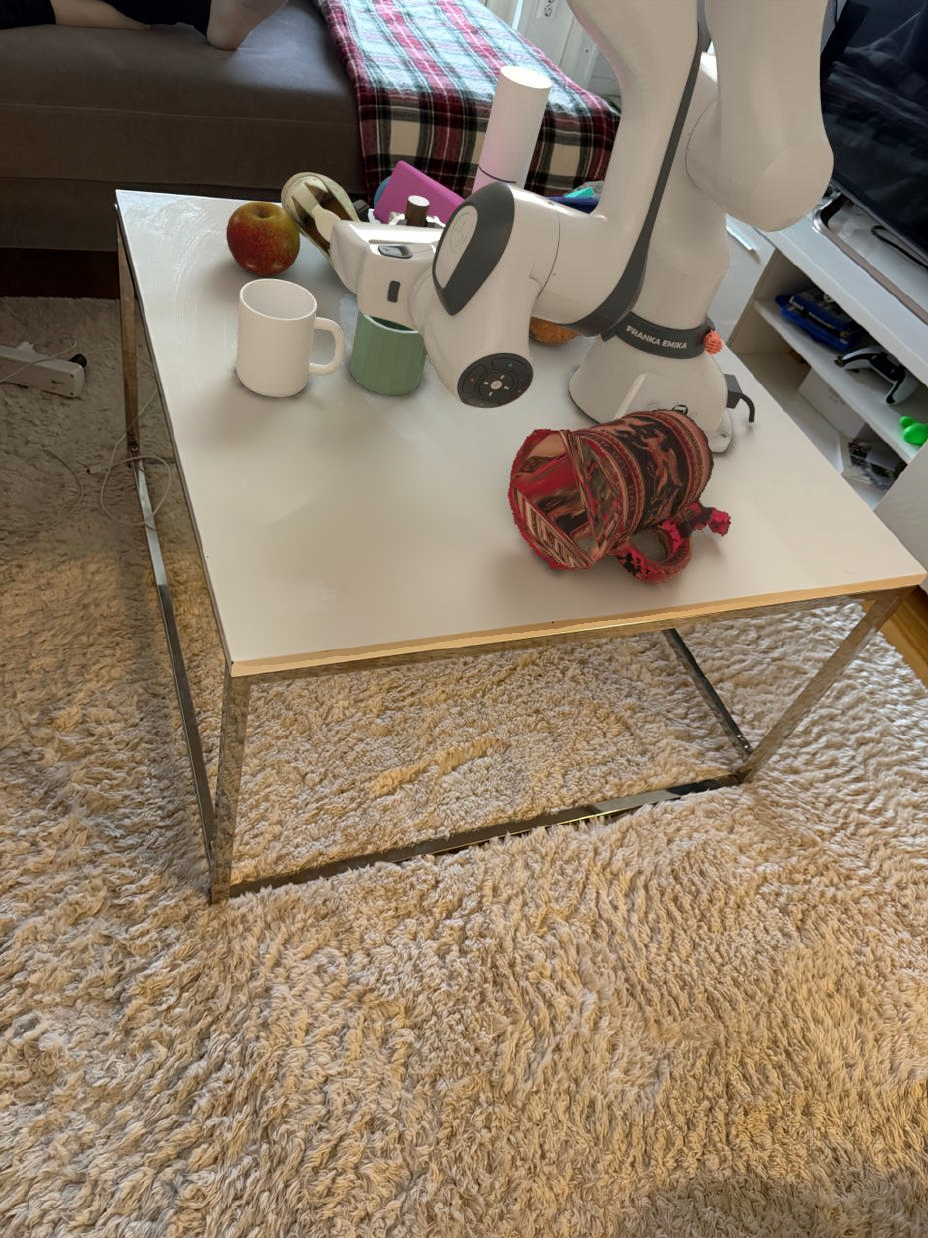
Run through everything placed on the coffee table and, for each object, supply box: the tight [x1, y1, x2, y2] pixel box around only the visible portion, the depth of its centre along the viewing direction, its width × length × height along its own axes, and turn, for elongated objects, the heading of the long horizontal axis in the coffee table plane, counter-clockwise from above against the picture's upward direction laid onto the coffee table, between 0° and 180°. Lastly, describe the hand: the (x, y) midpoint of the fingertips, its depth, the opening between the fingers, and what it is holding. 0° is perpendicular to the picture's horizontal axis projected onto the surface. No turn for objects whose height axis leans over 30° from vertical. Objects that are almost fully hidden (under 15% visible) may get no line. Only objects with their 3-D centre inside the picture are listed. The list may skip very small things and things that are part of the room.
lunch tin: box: [349, 310, 428, 396], centre depth 107 cm, size 9×9×8 cm
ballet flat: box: [280, 171, 361, 275], centre depth 116 cm, size 8×25×8 cm
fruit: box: [225, 201, 301, 277], centre depth 116 cm, size 10×9×8 cm
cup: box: [235, 278, 346, 398], centre depth 101 cm, size 8×12×10 cm
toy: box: [372, 160, 465, 225], centre depth 125 cm, size 28×9×15 cm
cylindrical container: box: [471, 65, 553, 194], centre depth 128 cm, size 7×7×25 cm
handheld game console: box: [565, 187, 594, 198], centre depth 138 cm, size 10×16×1 cm
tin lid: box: [405, 196, 430, 227], centre depth 97 cm, size 10×10×8 cm
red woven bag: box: [507, 409, 732, 584], centre depth 97 cm, size 17×28×18 cm
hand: (411, 220), depth 96 cm, fingers closed on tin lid, 2 cm apart
